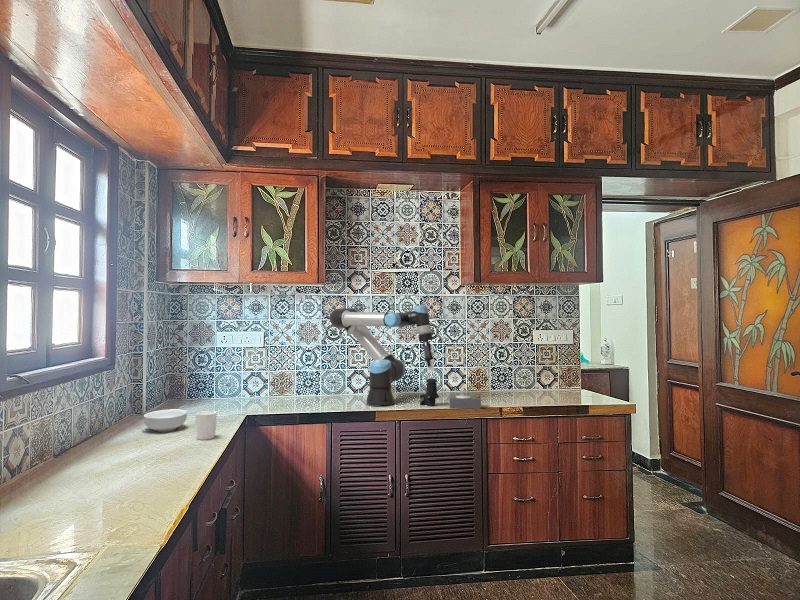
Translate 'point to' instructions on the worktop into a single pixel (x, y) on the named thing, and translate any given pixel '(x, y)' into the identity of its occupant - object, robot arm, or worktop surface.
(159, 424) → the cereal bowl
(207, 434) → the white cup
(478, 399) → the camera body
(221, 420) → the worktop surface
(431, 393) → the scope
